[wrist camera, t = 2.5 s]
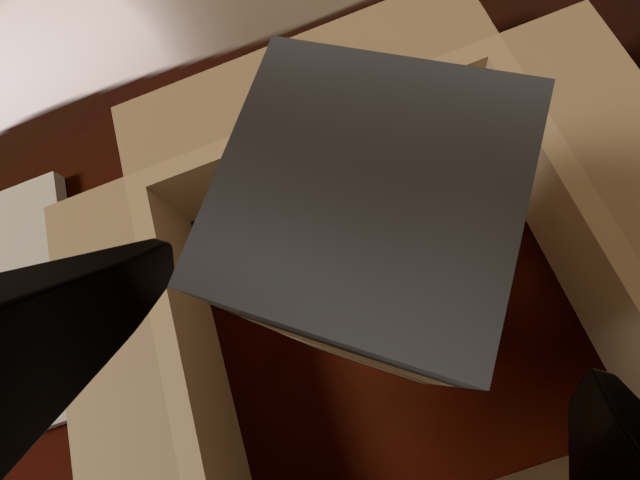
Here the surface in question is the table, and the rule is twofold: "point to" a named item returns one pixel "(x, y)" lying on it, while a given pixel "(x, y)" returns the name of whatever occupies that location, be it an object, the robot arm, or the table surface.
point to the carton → (201, 163)
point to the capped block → (373, 207)
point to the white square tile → (28, 226)
